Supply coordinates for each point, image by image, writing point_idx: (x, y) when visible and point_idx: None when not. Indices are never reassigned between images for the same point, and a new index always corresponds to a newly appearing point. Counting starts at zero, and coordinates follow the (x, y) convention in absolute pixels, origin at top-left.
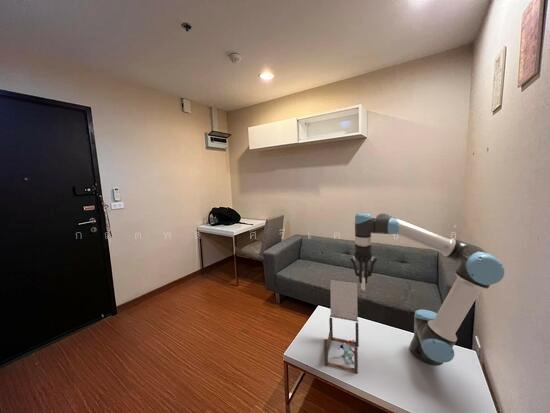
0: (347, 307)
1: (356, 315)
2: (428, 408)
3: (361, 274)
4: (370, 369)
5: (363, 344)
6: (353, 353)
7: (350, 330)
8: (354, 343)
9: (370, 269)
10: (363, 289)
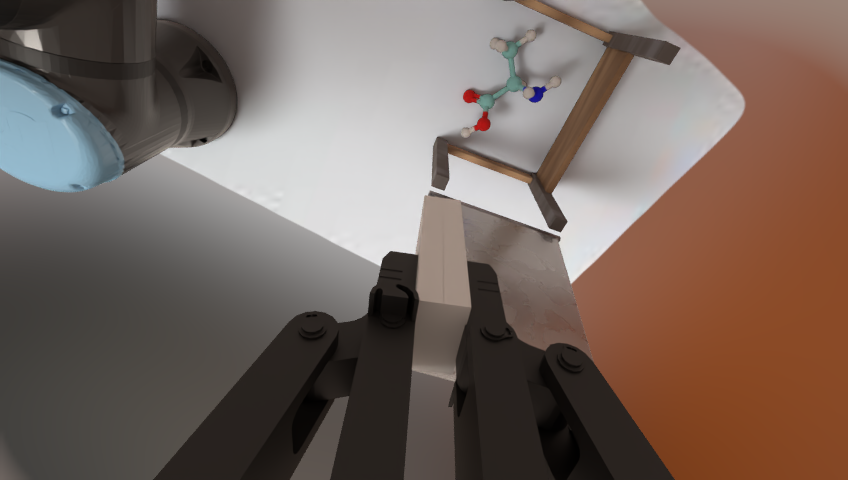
0: (482, 248)
1: None
2: None
3: (485, 363)
4: (434, 4)
5: (413, 146)
6: (474, 93)
7: None
8: (451, 146)
9: (246, 461)
10: (444, 201)
